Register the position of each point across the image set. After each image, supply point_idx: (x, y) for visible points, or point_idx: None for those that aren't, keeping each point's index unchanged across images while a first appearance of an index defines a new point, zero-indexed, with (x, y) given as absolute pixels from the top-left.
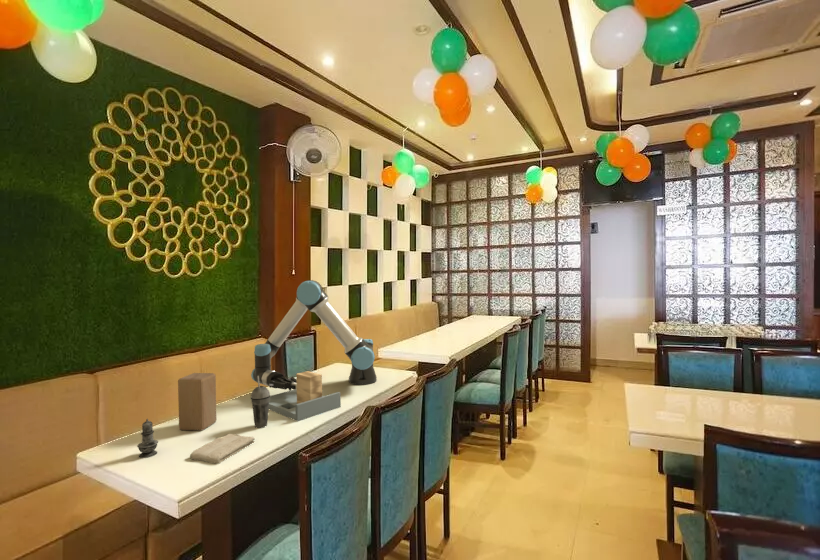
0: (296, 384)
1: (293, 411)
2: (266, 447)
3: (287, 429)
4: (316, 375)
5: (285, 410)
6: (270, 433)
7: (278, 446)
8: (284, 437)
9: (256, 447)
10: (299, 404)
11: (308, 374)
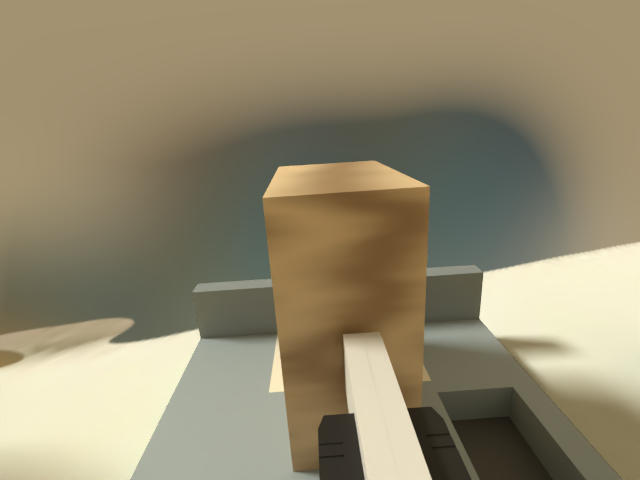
0: (395, 378)
1: (483, 346)
2: (593, 264)
3: (524, 306)
4: (316, 165)
5: (536, 385)
6: (599, 309)
7: (554, 258)
8: (536, 278)
9: (631, 271)
10: (461, 267)
11: (342, 172)
